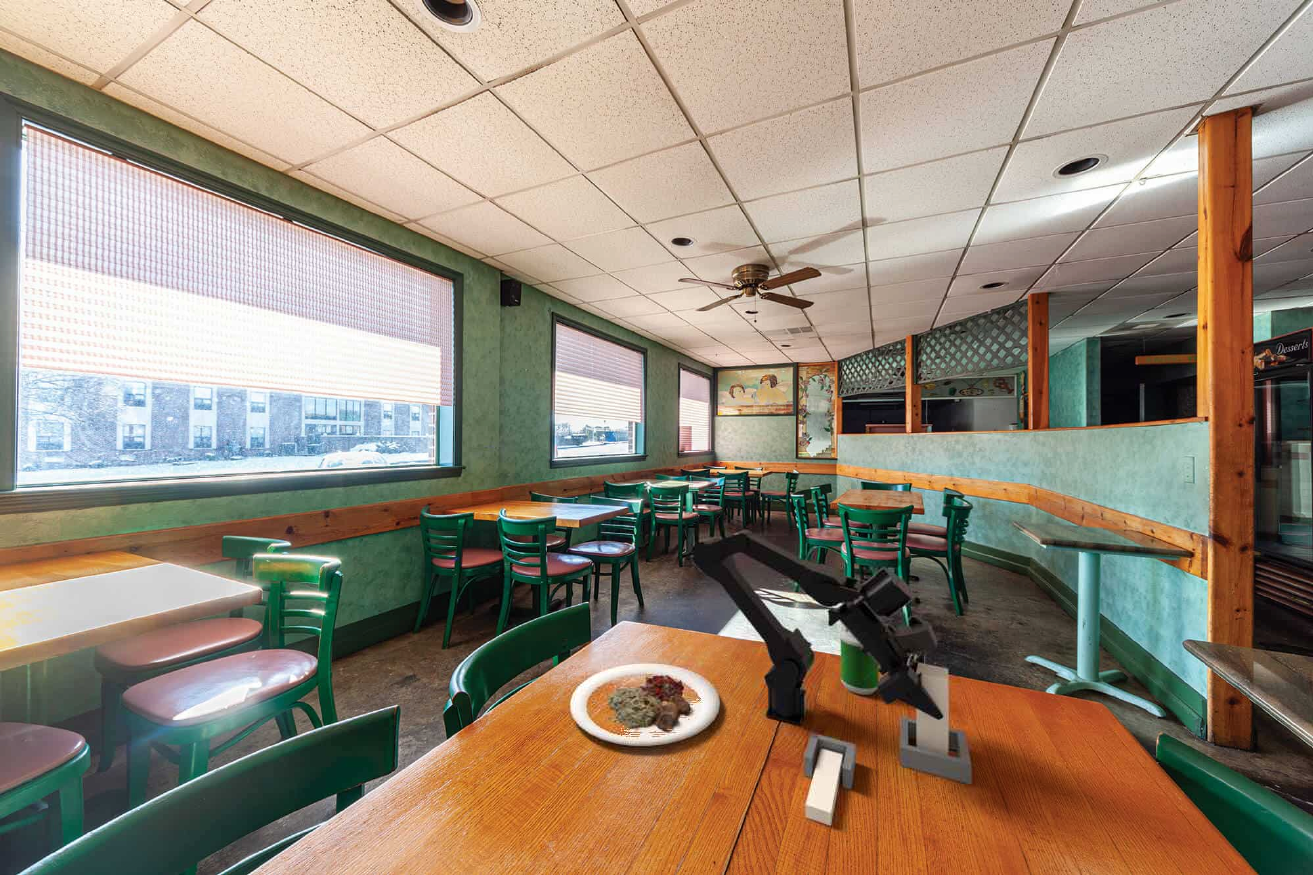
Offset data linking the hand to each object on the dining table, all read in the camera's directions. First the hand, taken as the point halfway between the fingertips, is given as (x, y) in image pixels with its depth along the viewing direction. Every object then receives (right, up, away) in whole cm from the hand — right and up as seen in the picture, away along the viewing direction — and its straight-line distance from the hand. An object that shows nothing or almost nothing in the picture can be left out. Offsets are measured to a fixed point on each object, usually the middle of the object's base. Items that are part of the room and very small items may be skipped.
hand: (941, 711), depth 80 cm
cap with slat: (-22, -8, -6) cm, 24 cm away
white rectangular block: (-1, -7, +1) cm, 7 cm away
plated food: (-50, -9, +17) cm, 54 cm away
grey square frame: (-1, -8, +1) cm, 8 cm away
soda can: (-4, -8, +23) cm, 25 cm away
